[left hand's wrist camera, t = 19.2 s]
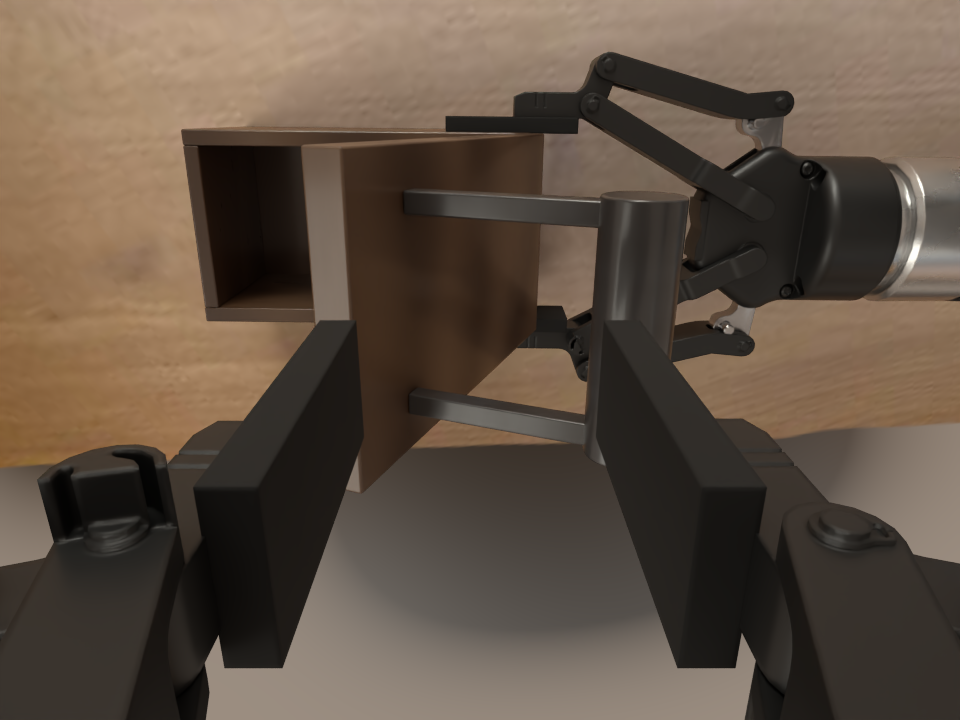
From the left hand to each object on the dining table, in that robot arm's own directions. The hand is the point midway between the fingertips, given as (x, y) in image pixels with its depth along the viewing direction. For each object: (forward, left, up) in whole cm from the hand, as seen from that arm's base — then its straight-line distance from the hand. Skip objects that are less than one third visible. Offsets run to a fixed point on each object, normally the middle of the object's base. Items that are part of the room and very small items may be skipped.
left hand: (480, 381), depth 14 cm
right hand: (-2, 0, -23) cm, 23 cm away
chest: (-6, -1, -29) cm, 30 cm away
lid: (-1, 0, -12) cm, 12 cm away
